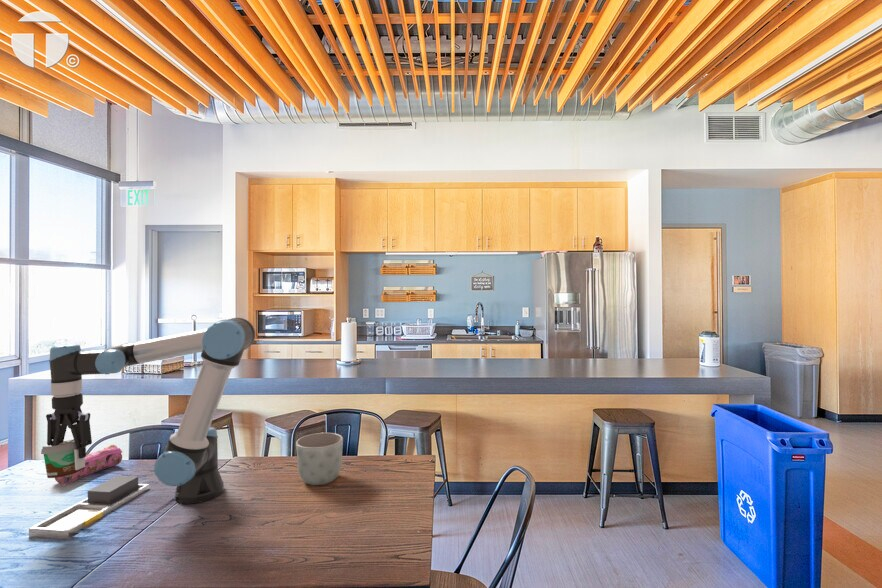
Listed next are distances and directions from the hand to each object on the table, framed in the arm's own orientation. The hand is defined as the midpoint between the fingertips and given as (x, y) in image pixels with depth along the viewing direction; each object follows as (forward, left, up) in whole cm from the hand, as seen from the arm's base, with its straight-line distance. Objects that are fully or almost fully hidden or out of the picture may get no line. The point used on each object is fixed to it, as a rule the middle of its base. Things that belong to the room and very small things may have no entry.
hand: (70, 467), depth 144 cm
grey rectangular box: (-3, -13, -16) cm, 20 cm away
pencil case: (+25, -32, -17) cm, 44 cm away
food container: (0, 0, -2) cm, 2 cm away
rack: (-3, -5, -17) cm, 18 cm away
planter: (-67, -36, -17) cm, 78 cm away
